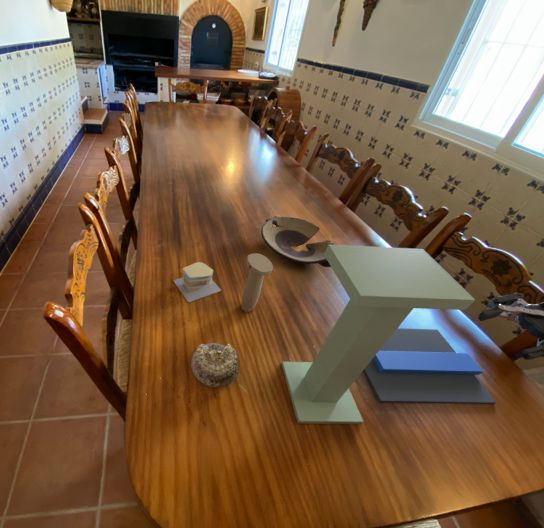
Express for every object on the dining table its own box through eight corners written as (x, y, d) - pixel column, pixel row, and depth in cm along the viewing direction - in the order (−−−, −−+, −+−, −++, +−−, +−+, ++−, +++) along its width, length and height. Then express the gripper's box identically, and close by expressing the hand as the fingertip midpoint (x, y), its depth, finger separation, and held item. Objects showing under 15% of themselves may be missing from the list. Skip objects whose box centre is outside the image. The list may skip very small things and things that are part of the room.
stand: (335, 365, 64) (418, 244, 43) (361, 424, 54) (482, 306, 34) (271, 363, 63) (325, 240, 42) (286, 423, 53) (364, 302, 33)
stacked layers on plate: (188, 302, 75) (189, 286, 71) (172, 280, 80) (173, 265, 77) (221, 290, 79) (224, 275, 75) (204, 270, 84) (206, 255, 81)
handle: (249, 297, 78) (261, 251, 68) (262, 315, 73) (277, 269, 63) (232, 301, 76) (243, 255, 66) (245, 320, 71) (258, 273, 62)
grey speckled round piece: (243, 386, 59) (249, 373, 55) (194, 392, 57) (196, 379, 54) (232, 341, 66) (236, 328, 62) (187, 346, 64) (189, 332, 61)
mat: (436, 330, 73) (437, 329, 73) (494, 404, 59) (496, 402, 59) (342, 328, 72) (343, 326, 71) (379, 402, 58) (381, 400, 57)
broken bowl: (306, 226, 107) (312, 208, 102) (356, 283, 85) (368, 262, 80) (247, 229, 103) (252, 210, 98) (284, 290, 81) (292, 268, 76)
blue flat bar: (463, 356, 67) (467, 353, 66) (479, 375, 63) (483, 371, 63) (370, 354, 66) (373, 350, 65) (380, 372, 62) (383, 369, 61)
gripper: (553, 276, 61) (478, 295, 61) (639, 336, 51) (550, 359, 51) (529, 298, 66) (460, 316, 66) (603, 356, 56) (522, 377, 56)
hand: (499, 335), depth 58 cm, fingers open, 8 cm apart
